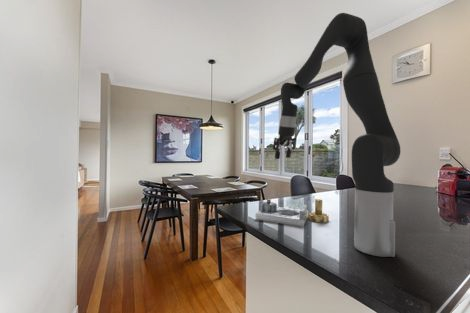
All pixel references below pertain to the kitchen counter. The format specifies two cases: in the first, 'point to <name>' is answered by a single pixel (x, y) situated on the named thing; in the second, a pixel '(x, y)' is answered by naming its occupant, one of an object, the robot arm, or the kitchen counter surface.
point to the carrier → (282, 214)
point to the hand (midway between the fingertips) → (282, 158)
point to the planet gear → (318, 213)
